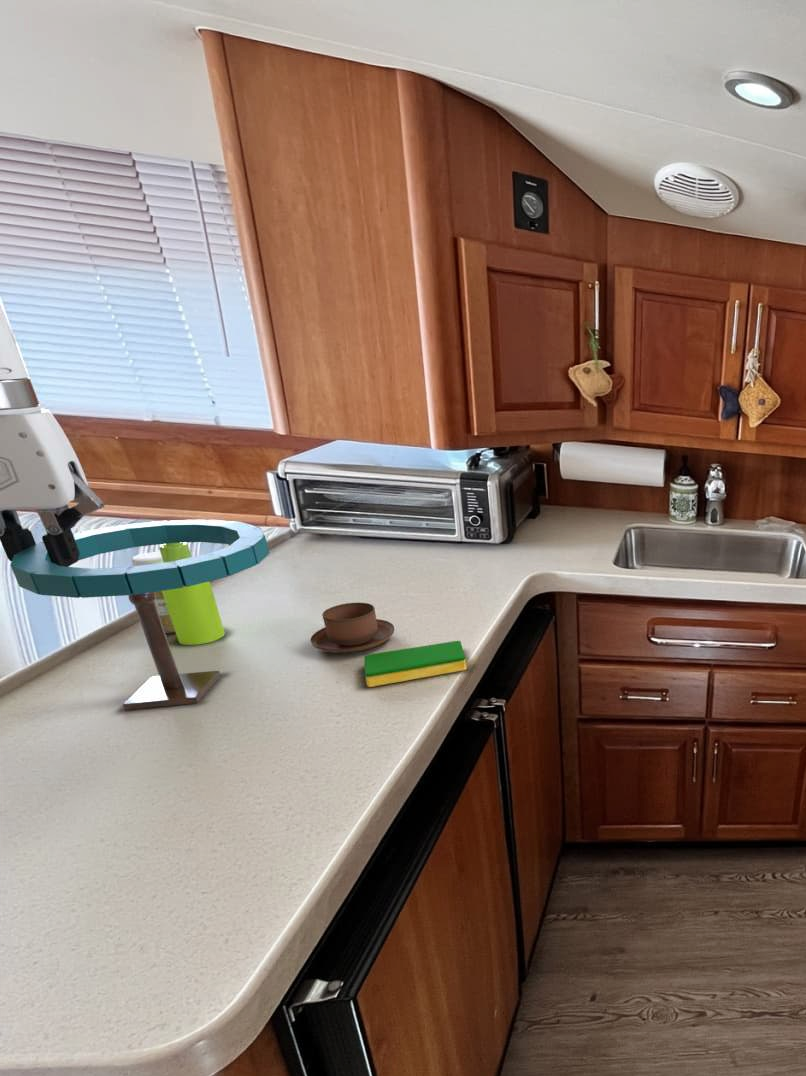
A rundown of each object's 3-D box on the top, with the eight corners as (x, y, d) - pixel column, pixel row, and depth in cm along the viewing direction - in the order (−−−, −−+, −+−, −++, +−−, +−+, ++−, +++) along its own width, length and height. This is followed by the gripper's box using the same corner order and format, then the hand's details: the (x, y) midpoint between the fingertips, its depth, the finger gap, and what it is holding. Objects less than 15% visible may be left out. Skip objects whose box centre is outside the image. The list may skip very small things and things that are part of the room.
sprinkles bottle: (176, 634, 108) (152, 560, 103) (148, 633, 108) (122, 558, 102) (199, 623, 112) (176, 551, 107) (172, 622, 112) (148, 550, 107)
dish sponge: (367, 667, 103) (364, 654, 102) (461, 652, 110) (460, 639, 109) (367, 688, 98) (364, 674, 97) (467, 670, 105) (465, 657, 104)
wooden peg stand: (124, 710, 88) (82, 601, 82) (153, 682, 95) (116, 579, 88) (197, 703, 91) (162, 597, 84) (220, 675, 98) (189, 576, 91)
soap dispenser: (165, 639, 106) (126, 524, 99) (218, 626, 112) (185, 517, 104) (176, 650, 103) (137, 533, 96) (230, 637, 109) (197, 525, 101)
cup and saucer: (297, 647, 107) (288, 614, 105) (368, 622, 118) (362, 592, 115) (341, 666, 103) (333, 632, 101) (411, 639, 113) (405, 607, 111)
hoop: (-34, 604, 62) (-45, 581, 61) (89, 540, 80) (82, 521, 79) (231, 590, 70) (225, 569, 69) (290, 534, 88) (286, 517, 87)
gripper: (-172, 397, 58) (-81, 582, 65) (64, 404, 64) (124, 573, 71) (-103, 388, 65) (-27, 558, 72) (106, 395, 70) (157, 552, 78)
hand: (48, 564), depth 71 cm, fingers closed on hoop, 2 cm apart
